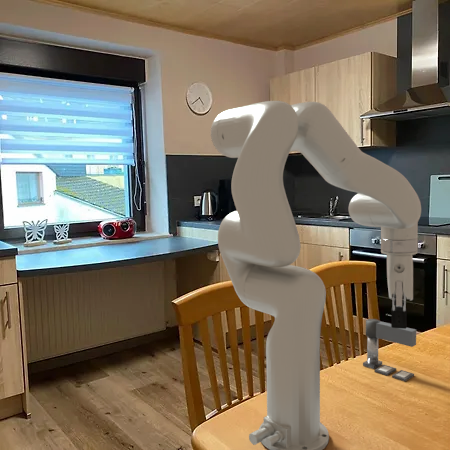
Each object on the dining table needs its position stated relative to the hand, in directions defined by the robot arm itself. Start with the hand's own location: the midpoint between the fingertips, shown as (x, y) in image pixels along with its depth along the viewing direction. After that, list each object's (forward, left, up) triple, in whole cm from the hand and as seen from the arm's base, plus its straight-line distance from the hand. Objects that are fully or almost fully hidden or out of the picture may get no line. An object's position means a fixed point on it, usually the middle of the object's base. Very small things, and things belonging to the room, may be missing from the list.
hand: (398, 326), depth 105 cm
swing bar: (+5, +5, -6) cm, 9 cm away
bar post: (+5, +10, -13) cm, 17 cm away
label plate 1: (+4, +6, -13) cm, 15 cm away
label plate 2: (+4, +1, -13) cm, 14 cm away
